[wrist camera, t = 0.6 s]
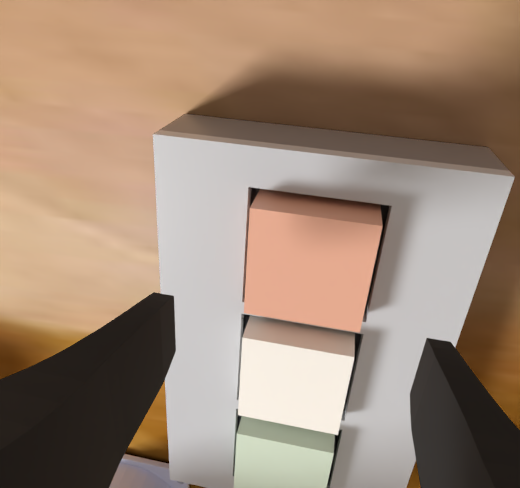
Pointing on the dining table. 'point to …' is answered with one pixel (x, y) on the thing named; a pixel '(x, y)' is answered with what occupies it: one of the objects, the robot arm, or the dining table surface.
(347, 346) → the cream key
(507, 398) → the dining table surface
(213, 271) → the keypad base
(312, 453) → the sage key
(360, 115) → the dining table surface
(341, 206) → the terracotta key
